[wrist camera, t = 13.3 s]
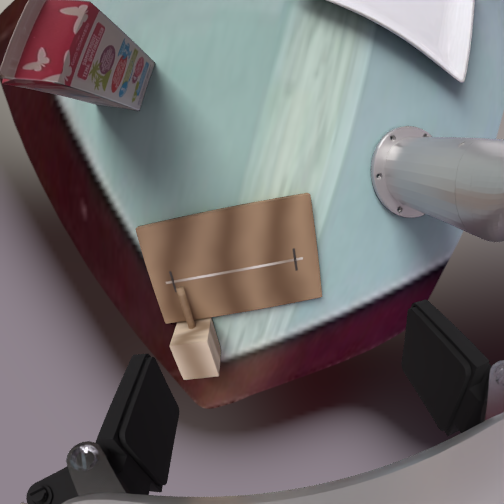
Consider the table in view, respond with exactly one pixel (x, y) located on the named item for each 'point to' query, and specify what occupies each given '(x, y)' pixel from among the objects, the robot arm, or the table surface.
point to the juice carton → (76, 55)
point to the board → (234, 258)
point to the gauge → (195, 344)
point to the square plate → (425, 27)
